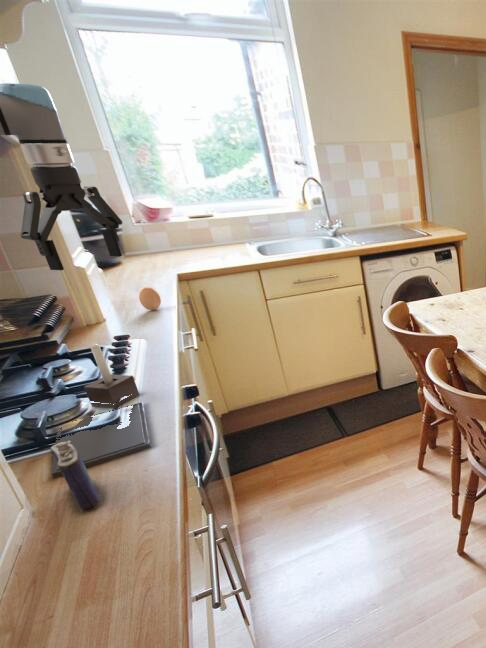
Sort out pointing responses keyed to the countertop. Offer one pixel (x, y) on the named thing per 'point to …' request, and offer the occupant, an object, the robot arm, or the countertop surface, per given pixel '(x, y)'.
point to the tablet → (108, 440)
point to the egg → (149, 298)
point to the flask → (76, 475)
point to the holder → (112, 391)
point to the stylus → (101, 364)
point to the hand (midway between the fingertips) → (88, 262)
